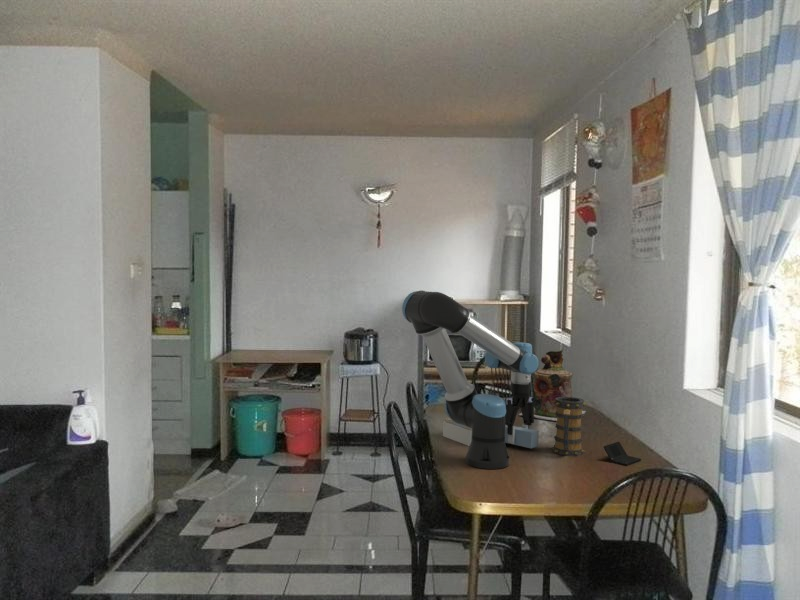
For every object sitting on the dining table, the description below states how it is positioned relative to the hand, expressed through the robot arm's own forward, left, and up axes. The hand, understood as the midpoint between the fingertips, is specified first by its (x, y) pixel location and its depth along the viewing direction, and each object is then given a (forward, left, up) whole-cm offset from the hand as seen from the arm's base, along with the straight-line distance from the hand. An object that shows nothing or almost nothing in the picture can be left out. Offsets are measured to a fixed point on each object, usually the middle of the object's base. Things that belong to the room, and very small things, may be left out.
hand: (517, 442), depth 255 cm
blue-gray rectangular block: (0, 0, -1) cm, 1 cm away
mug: (+11, -16, -2) cm, 19 cm away
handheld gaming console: (+22, -32, -2) cm, 39 cm away
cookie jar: (+53, +36, -2) cm, 64 cm away
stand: (-9, +18, -2) cm, 20 cm away
